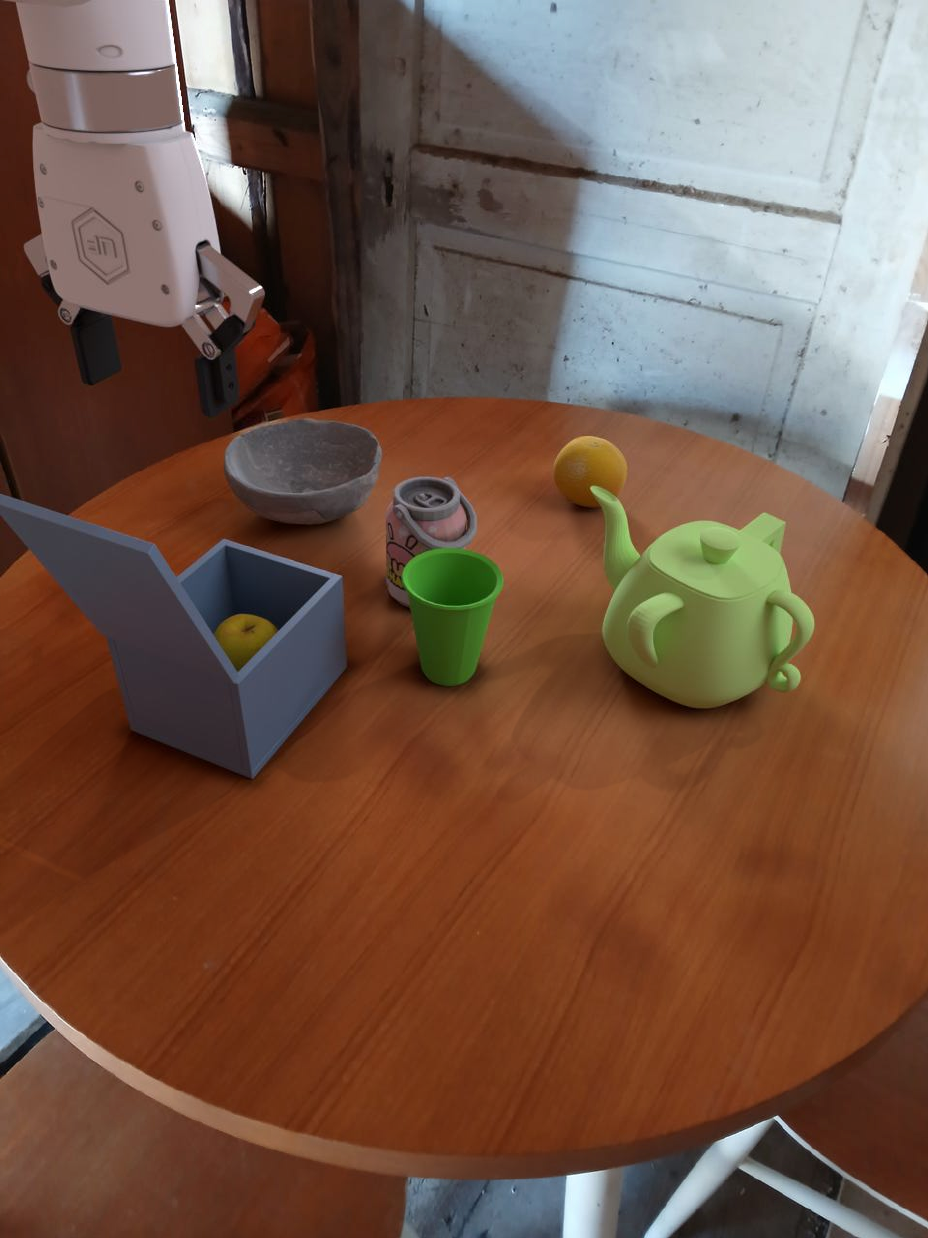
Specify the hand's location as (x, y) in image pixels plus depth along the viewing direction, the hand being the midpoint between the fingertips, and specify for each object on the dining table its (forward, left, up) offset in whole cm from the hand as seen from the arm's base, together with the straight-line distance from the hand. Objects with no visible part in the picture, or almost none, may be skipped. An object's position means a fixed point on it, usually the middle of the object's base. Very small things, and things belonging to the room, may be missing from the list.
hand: (160, 393), depth 60 cm
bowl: (+34, +12, -31) cm, 47 cm away
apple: (+5, 0, -31) cm, 31 cm away
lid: (-7, 0, -12) cm, 14 cm away
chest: (+4, 0, -31) cm, 31 cm away
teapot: (+29, -34, -31) cm, 54 cm away
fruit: (+52, -17, -31) cm, 63 cm away
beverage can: (+26, -8, -31) cm, 41 cm away
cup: (+16, -15, -31) cm, 38 cm away
